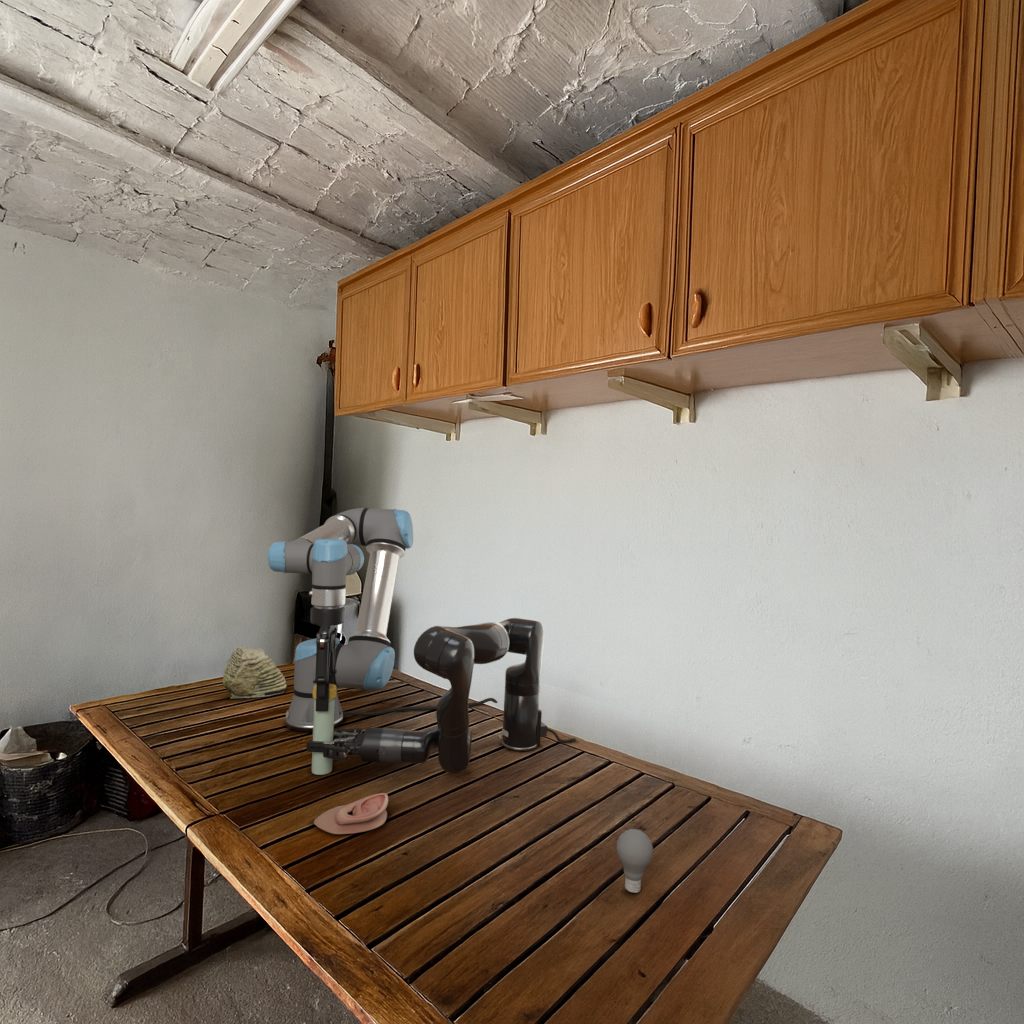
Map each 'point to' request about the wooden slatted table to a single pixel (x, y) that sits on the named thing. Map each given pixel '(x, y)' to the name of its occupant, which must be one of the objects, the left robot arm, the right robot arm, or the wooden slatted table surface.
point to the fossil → (252, 674)
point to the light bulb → (634, 857)
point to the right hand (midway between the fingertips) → (311, 741)
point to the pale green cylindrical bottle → (322, 737)
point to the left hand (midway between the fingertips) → (324, 706)
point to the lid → (331, 691)
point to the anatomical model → (355, 816)
